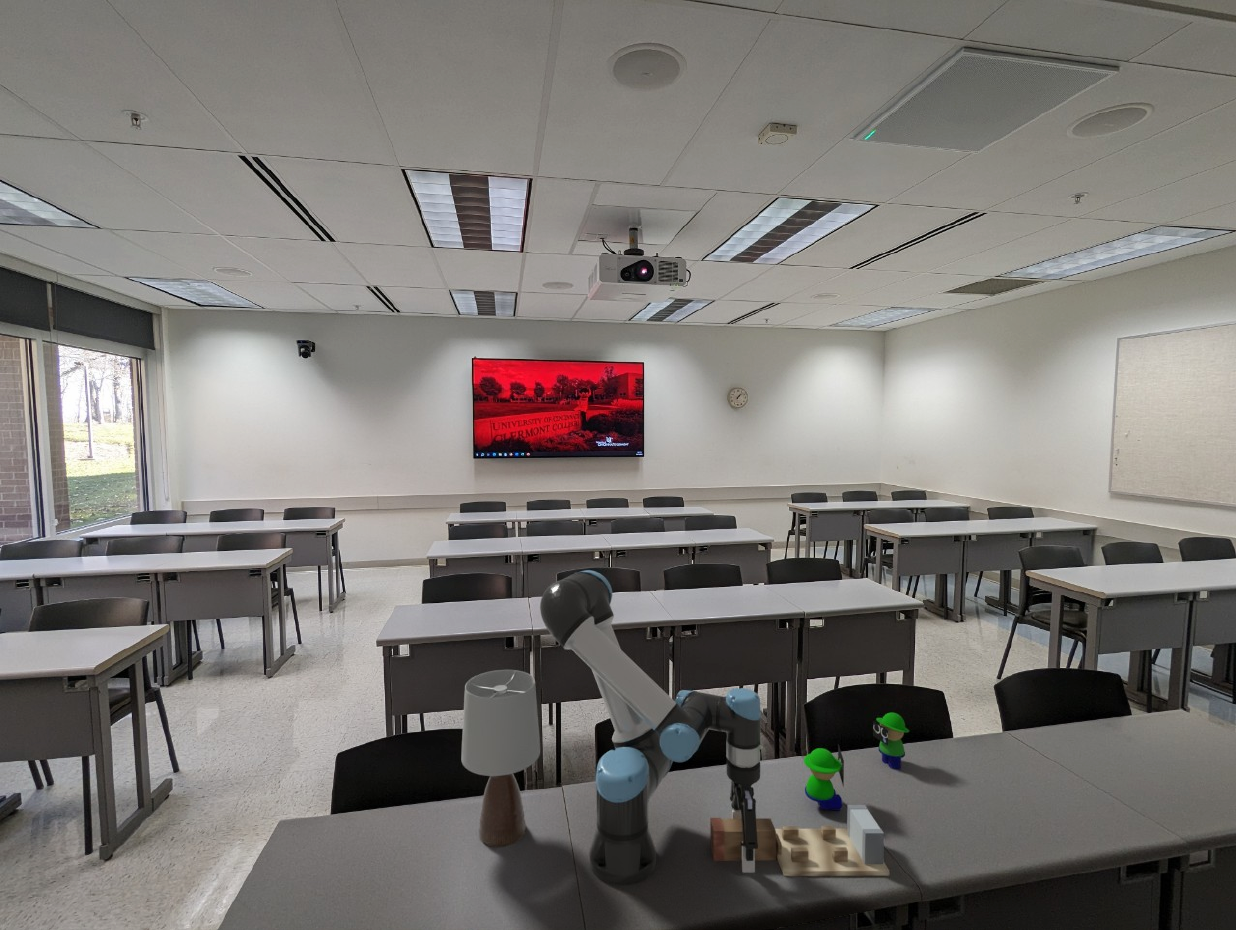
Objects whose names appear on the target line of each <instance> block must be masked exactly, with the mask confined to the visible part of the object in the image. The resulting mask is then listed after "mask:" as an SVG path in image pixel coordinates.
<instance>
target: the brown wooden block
mask: <svg viewBox="0 0 1236 930" xmlns="http://www.w3.org/2000/svg"><path fill="white" fill-rule="evenodd" d="M709 818H710V819H709V820H710V827H709V828H710V830H709V831H710V833H709V834H710V835H709V836H710V838H709V839H710V840H709V841H710V843H709V844H710V845H709V846H710V851H711V855H712V858H713V859H712V860H713V862H719V861H720V862H724V861H728V862H729V861H732V862H733V861H742V846H741V845H740V843H742V842H743V832H742V821H741V819H732V818H722V817H709ZM756 826H757V843H758V849H755V861H776V859H777V857H776V830H775V829H776V827H775V825H774V823H773V820H772V818H769V817H767V818H763V817H762V818H761V817H760V818H759V817H758V818H757V817H756Z"/></svg>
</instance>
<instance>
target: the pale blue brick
mask: <svg viewBox="0 0 1236 930" xmlns="http://www.w3.org/2000/svg"><path fill="white" fill-rule="evenodd" d="M846 812H847V815H846V817H847V818H846V819H847V820H846V821H847V822H846V826H847V835H848V836H849V838H850V839H851V841H852V843H853V845H854V846H855V848H856V850H857V851H858V853H859V855H860V857H861V858H862V860H863V862H864V864H883V861H884V845H885V833H884V831H883V829H882V828H881V827H880V826H879V824H878V823H877V821H876V820H875V819H874V817H873V815H872V814H871V812H870V811H869V809H868V808H867V806H866V804H847V811H846Z"/></svg>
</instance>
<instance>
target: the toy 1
mask: <svg viewBox="0 0 1236 930" xmlns="http://www.w3.org/2000/svg"><path fill="white" fill-rule="evenodd" d="M837 747H838V748H837V751H838V752H837V757H836V756H834V755H833V754H832V752H831V751H829V750H828V749H827V748H823V747H819V748H815V749H813V750H812V751H811V753H808V754H806V755H805V756H804V758H803V763H804V765H805V766H806V767H807V768H808V769H809V770H810V772H811V775H809V777H808V779H807V781H806V784H805V787H804V794H805V796H806V797H807V798H809V799H810V800H812V801H814V802H817V803H818V805H819V807H820V809H821V810H831V811H841V810H842V808H843V800H842V797H841V795H840V794H839V793H836V789H835V788H834V785H833V782H832V781H831V779H833V778H834V776H835V775H836V773H838V774H839V777H840V780H841V784H842V787H843V788H844V785H845V784H844V778H845V777H844V775H845V774H844V773H845V770H844V769H845V766H844V765H845V760H844V756H843V754H842V750H841V748H840V744H839V743H838V744H837Z"/></svg>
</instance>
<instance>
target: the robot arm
mask: <svg viewBox="0 0 1236 930" xmlns="http://www.w3.org/2000/svg"><path fill="white" fill-rule="evenodd" d="M612 599H613V590H612V586H611V584H610V582H609V580H608V579H607V578H606V577H605V576H604V575H603V574H601V573H599V572H597V571H595V570H590V569H588V570H587V569H586V570H582V571H578V572H574V573H573V574H570V575H569V576H566V577H565V578H563V579H560V580H557V581H555V582H553V583H551V584H550V585H549V586H547V588H546V589H545V591H544V592H543V594H542V596H541V599H540V605H539V611H540V616H541V619H542V621H543V624H544V626H545V628H546V629H547V630H548V632H549V633H550V635H551V636H552V637H553V638H554V640H555V641H556V642H557V643H558V644H559V645H560V646H561V647H562V648H563V649H564V650H570V651H571V650H572V651H573V652H574V653H575V654H576V656H578V658H580V659H581V660H582V661H583V662H584V663H585V665H587V666H588V667H589V668H590V669H591V671H592V673H593V677H594V679H595V682H596V683H597V687H598V689H599V693H600V695H601V697H602V699H603V702H604V705H605V707H606V710H607V713H608V715H609V718H610V721H611V723H612V725H613V729H614V732H613V735H612V738H611V740H612V743H613V746H614V749H610V750H609V751H607V752H606V753H604V754H603V755H602V756H601V757H600V758H599V760H598V763H597V765H596V766H597V767H596V774H595V786H596V787H595V788H596V789H595V790H596V791H595V792H596V793H595V795H596V796H595V797H596V802H595V803H596V828H595V831H594V833H593V834H594V835H593V838H592V840H591V843H590V847H589V850H588V851H589V852H588V863H589V864H588V865H589V867H590V869H591V872H592V873H593V874H594V876H595V877H596V878H598V879H599V880H600V881H603V882H605V883H607V884H610V885H615V886H631V885H636V884H639V883H641V882H643V881H644V880H646V879H647V878H649V877H650V876H651V875H652V874H653V873H654V870H655V869H656V865H657V850H656V846H655V843H654V841H653V837H652V833H651V831H650V828H649V802H650V800H651V798H652V796H653V794H654V793H655V792H656V790H657V789H658V788H659V785H660V784H661V782H662V781H663V779H664V778H665V777H666V776H667V775H668V773H669V771H670V769H671V767H672V765H673V762H675V763H684V762H687V761H689V759H691V758H692V757H693V755H695V753H696V752H697V751H698V750H699V747H700V745H701V743H702V741H703V739H704V738H705V736H706V735H707V733H708V732H709V730H711V731H716V732H722V733H723V732H724V733H726V740H725V741H726V745H725V746H726V751H725V752H726V755H725V756H726V776H727V778H728V779H729V780H730V782H731V783H730V795H729V800H730V802H731V804H730V805H731V809H732V810H731V819H741V821H742V832H743V842H742V843H740V845H741V846H742V860H741V871H742V873H743V874H745V873H753V874H754V873H755V874H756V860H755V849H758V843H757V826H756V818H757V814H756V813H757V811H756V810H757V809H756V807H757V800H756V798H754V796H755V791H754V787H752V786H753V785H754V784H756V783H758V782H759V781H760V779H761V751H760V750H763V748H764V747H763V745H762V744H761V725H762V724H761V722H762V721H761V720H762V712H761V711H762V710H761V700H760V696H759V695H758V693H757V692H755V691H754V690H751V689H750V688H745V687H741V688H738V687H736V688H735V687H734V688H731V689H729V691H727V693H726V696H722V695H716V694H711V693H705V692H702V691H697V690H687V689H682V690H680V691H678V693H677V694H676V697H675V699H673V698H672V697H671V696H670V695H669V694H668V693H666V692H665V690H664V689H662V688H661V687H660V686H659V685H658V684H657V683H656V682H655V681H654V680H653V679H652V677H650V676H649V675H648V674H647V673H646V672H645V671H643V669H642V668H641V667H640V666H638V665H637V664H636V662H634V661H633V659H632V658H630V657H629V656H628V655H627V654H626V653H625V652H624V650H622V649H621V646H620V644H619V641H618V639H617V636H616V634H615V631H614V629H613V626H612V623H613V620H614V617H615V614H614V611H613V609H612V606H611V603H612Z"/></svg>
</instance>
